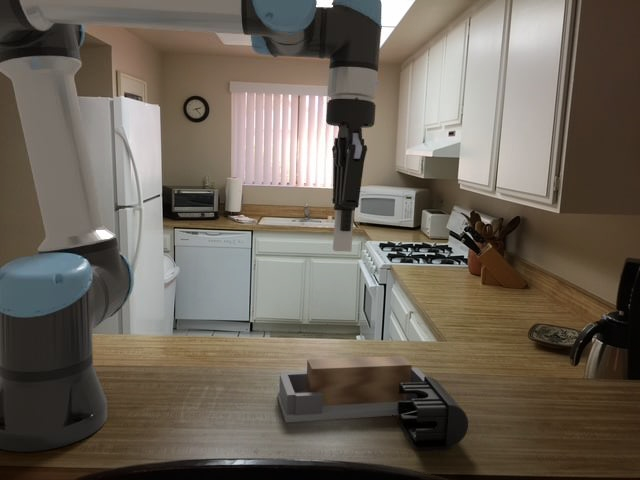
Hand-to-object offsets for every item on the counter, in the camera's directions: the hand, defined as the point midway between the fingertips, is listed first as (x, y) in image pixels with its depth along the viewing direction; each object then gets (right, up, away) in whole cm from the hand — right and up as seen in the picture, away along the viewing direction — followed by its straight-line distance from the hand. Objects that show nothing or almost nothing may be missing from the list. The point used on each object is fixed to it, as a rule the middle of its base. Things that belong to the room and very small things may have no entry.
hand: (342, 250), depth 86 cm
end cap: (+12, -26, -9) cm, 30 cm away
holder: (+2, -25, 0) cm, 25 cm away
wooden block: (+2, -24, -1) cm, 24 cm away
